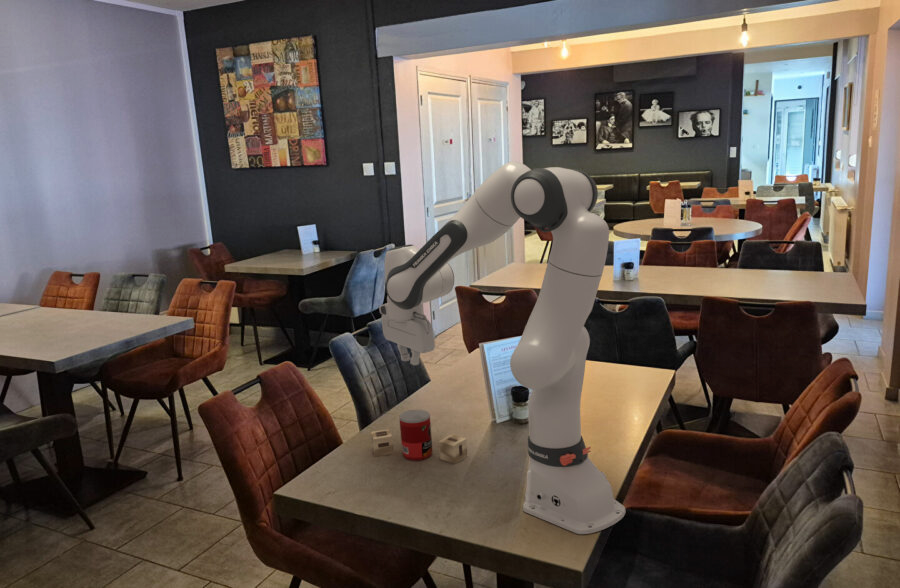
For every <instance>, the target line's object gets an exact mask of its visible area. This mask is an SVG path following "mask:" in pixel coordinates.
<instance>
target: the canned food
mask: <svg viewBox="0 0 900 588" xmlns="http://www.w3.org/2000/svg"><path fill="white" fill-rule="evenodd" d="M431 427H432V425H431V414H430V412H429V411H426V410H424V409H423V410H422V409H410V410H406V411H403V412H401V413H400V415H399V430H400V439H401V440H400V441H401V449H402V450H401V451H402V452H401V453H402V455H403V457H404V458H405V459H407V460H410V461H424V460H425V459H429V458H430V457H431V456H432V455H433V441H432V440H433V439H432V428H431Z"/></svg>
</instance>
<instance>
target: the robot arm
mask: <svg viewBox="0 0 900 588" xmlns="http://www.w3.org/2000/svg"><path fill="white" fill-rule="evenodd" d="M598 191H599V190H598V186H597V184H596V182H595V180H594V179H593V178H592V177H591V176H590V175H589V174H588V173H586V172H585V171H582V170H579V169H577V168H576V169H575V168H564V167H561V166H560V167H559V166H555V167H554V166H553V167H551V166H549V167H545V168H542V167H539V168H538V167H537V168H533V169H531V168H530V167H528V166H527V165H526V164H524V163H522V162H520V161H519V162H518V161H508V162H506V163H504V164H503V165H501V166H500V167H499V168H498V169H497V170H495V171H494V172H492V173H491V174H490V175H489V176H488V177H487V178H486V179H485V180H484V181H483V182H482V183H481V184H480V186H479V187H478V188H477V189H476V190H474V192H473V193H472V195H471V196H470V197H469V198H468V199H467V201H465V203H464V204H463V205H462V206H461V207H460V208H459V209H458V211H457V212H456V213H455V214H454V215H453V216H452V217H450V219H449V220H448V221H447V222H446V223H445V224H444V225H443V226H442V227H441V228H440V229H439V230H438V231H437V232H436V233H434V234H433V236H432V237H431V238H429V239H428V241H427V242H426V243H425V244H424V245H423V246H422V247H421V248H420V249H419V248H418V247H417V246H416V245H415V244H406V245H401V246H395V247H391V248H389V249H387V251H386V252H385V257H384V279H385V291H386V294H387V296H386V301H387V303H384V304H381V305H379V306H378V307H379V314H381V327H382V334H383V337H384V338H385V340H387V341H390V342H392V343H394V344H397V345H396V347H397V349H398V351H399V354H400V360H401V361H402V362H409V361H410V365H412V366H417V365H419V364H420V356H421V354H426V353H427V354H428V353H430V352H433V351H434V350H435V348H436V343H435V336H434V330H433V326H432V323H431V322H430V320H429V319H428V318H427V316H426V315H425V311H424V304H425V303H429V302H432V301H434V300H436V299H439V298H442V297H444V296H446V295H448V294H450V292H452V290H453V288H454V285H455V275H454V271H453V268H452V266H451V265H450V264H449V262H450V261H451V260H453V259H454V258H456V257H457V256H459V255H462V254H463V253H466V252H469V251H471V250H474V249H477V248H480V247H483V246H486V245H489V244H491V243H494V242H495V241H497V240H498V239H499V238H501V237H502V236H503V235H505V234H506V233H507V232H508V231H509V230H510V229H511V228H512V227H513V226H514V225H515V224H516V223H517V222H518V220H519V219H520V218H521V219H522V220H524V221H526V222H527V223H529V224H531V225H533V226H534V227H536V229H538V230H540V231H541V232H542V233H549V232H551V235H552V244H551V250H550V253H549V257H548V261H547V264H546V268H545V272H544V276H543V280H542V283H541V286H540V291H539V294H538V297H537V299H536V301H535V305H534V306H533V308H532V311H531V313H530V315H529V317H528V320H527V323H526V324H525V326H524V330H523V333H522V335H521V337H520V339H519V342H518V343H517V346H516V347H515V348H514V350H513V352H512V353H511V357H510V361H509V366H510V367H509V368H510V370H511V373H512V376H513V377H514V379H515V380H516V381H517V383H518V384H519V385H521V386H522V387H524V388H527V389H529V390H532V391H531V393H530V396H529V399H528V402H527V403H528V405H527V410H528V414H527V415H528V433H529V435H528V436H527V444H526V445H527V454H528V456H529V463H528V469H527V474H526V489H525V494H524V502H523V505H522V506H523V507H522V511H523V512H525V513H527V514H529V515H531V516H534V517H537V518H539V519H541V520H543V521H546V522H548V523H551V524H553V525H555V526H558V527H560V528H563V529H565V530H567V531H570V532H572V533H574V534H577V535H588V534H592V533H596V532H600V531H603V530H605V529H608V528H609V527H611V526H613V525H615V524H616V523H618V522H619V521H621V520H622V519H623V518H624V516H625V515H626V506H624V505H623V504H622V503H620V502H619V501H618V500H616V499H615V498H614V493H613V488H612V485H611V483H610V481H608V479H607V475H606V473H605V472H603V471H600V469H598V467H597V466H596V465H595V463H594V462H593V461H592V460H591V459H590V458H589V453H590V452H592V450H590V449H591V448H592V446H588V447H586V444H585V441H584V438H583V436H582V434H581V433H582V424H581V420H582V419H581V403H582V402H581V399H582V391H583V387H584V386H583V385H584V377H585V373H586V372H585V371H586V370H585V369H586V362H587V355H588V351H589V348H590V343H591V338H590V333H589V332H588V330H587V328H586V327H585V324H586V321H587V319H588V318H589V316H590V314H591V312H592V311H593V307H594V304H595V300H596V297H597V293H598V290H599V286H600V283H601V279H602V277H603V272H604V268H605V265H606V260H607V254H608V251H609V250H608V248H609V239H610V227H609V226H608V222H606V220H604V218H603V217H601V216H600V215H597V213H596V214H595V213H593V212H591V211H592V210H593V209H594V208H595V205H596V204H597V202H598V197H599V193H598ZM408 349H410V352H411V357H410V353H409V352H408Z"/></svg>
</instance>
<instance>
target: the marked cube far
mask: <svg viewBox="0 0 900 588" xmlns="http://www.w3.org/2000/svg"><path fill="white" fill-rule="evenodd" d="M370 435H371V445H372V452H373V455H374V457H381V456H387V455H394V453H395V451H394V442H393V439H394V438H393V435H392V432H391V430H390V428H387V429H380V430H375V431H371V432H370Z"/></svg>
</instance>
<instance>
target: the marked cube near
mask: <svg viewBox="0 0 900 588" xmlns="http://www.w3.org/2000/svg"><path fill="white" fill-rule="evenodd" d="M467 442H468V441H467V438H466V437H462V436H459V435H455V434H450V435H447V436H445V437H444V438H441V439H440V440H438V447H439V448H438V450H439V459H440V460H442V461H444V462H448V463H450V464H454V465H456V464H457V463H459V462H461V461H462V460H464V459H465V458H468V445H467Z"/></svg>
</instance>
